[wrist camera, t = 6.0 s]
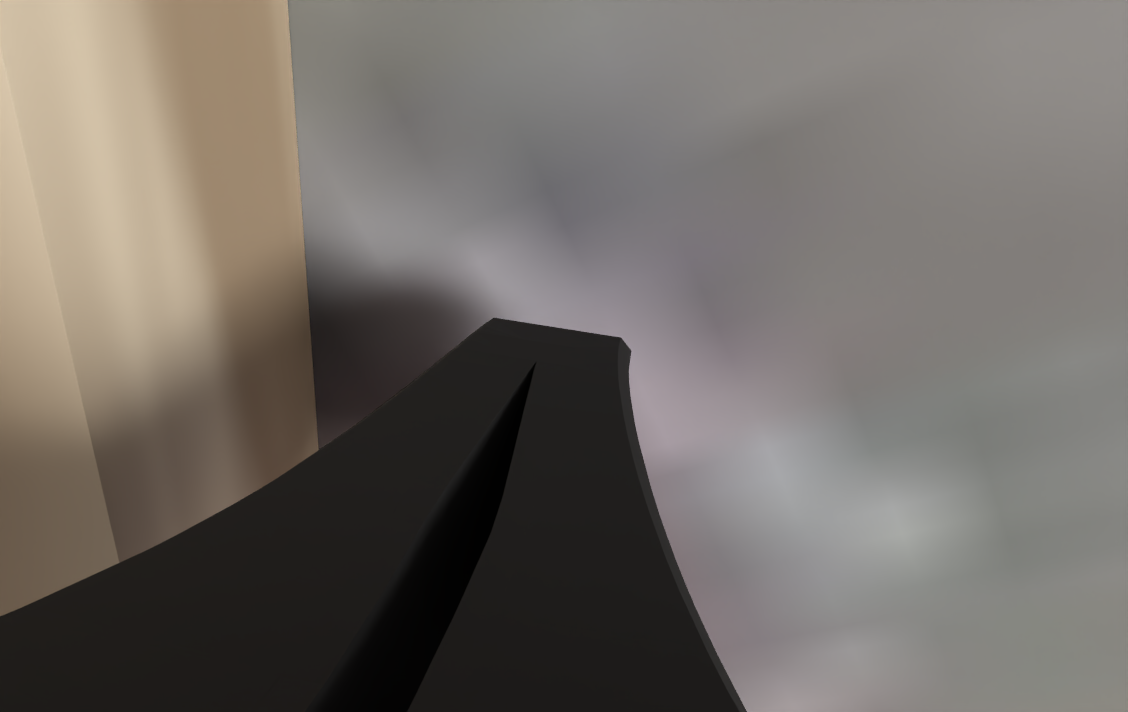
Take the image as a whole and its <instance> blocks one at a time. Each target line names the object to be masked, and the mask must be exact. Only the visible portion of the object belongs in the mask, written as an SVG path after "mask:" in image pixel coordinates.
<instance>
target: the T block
mask: <svg viewBox="0 0 1128 712" xmlns="http://www.w3.org/2000/svg"><path fill="white" fill-rule="evenodd" d="M318 450H319V447H318V433H317V418H316V404H315V390H314V375H313V361H312V346H311V332H310V318H309V303H308V289H307V275H306V260H305V246H304V231H303V217H302V203H301V188H300V174H299V160H298V145H297V131H296V116H295V102H294V88H293V73H292V59H291V44H290V30H289V16H288V1H287V0H0V616H2V615H5V614H7V613H9V612H12V611H14V610H17V609H19V608H21V607H24V606H26V605H28V604H30V603H33V602H35V601H37V600H39V599H41V598H43V597H46V596H48V595H50V594H52V593H54V592H57V591H59V590H61V589H63V588H65V587H67V586H70V585H72V584H74V583H76V582H78V581H81V580H83V579H85V578H87V577H89V576H91V575H94V574H96V573H98V572H100V571H102V570H105V569H107V568H109V567H111V566H113V565H115V564H118V563H120V562H122V561H124V560H126V559H129V558H131V557H133V556H135V555H137V554H139V553H142V552H144V551H146V550H148V549H150V548H152V547H154V546H156V545H158V544H160V543H162V542H164V541H166V540H168V539H170V538H172V537H174V536H176V535H177V534H179V533H181V532H183V531H185V530H187V529H189V528H190V527H192V526H194V525H196V524H198V523H200V522H201V521H203V520H205V519H207V518H209V517H211V516H213V515H214V514H216V513H218V512H220V511H222V510H224V509H225V508H227V507H229V506H231V505H233V504H234V503H236V502H238V501H240V500H241V499H243V498H245V497H246V496H248V495H250V494H252V493H253V492H255V491H257V490H258V489H260V488H262V487H263V486H265V485H267V484H268V483H270V482H272V481H273V480H275V479H276V478H278V477H279V476H281V475H282V474H284V473H285V472H287V471H288V470H290V469H291V468H293V467H294V466H296V465H297V464H299V463H300V462H302V461H303V460H305V459H306V458H308V457H309V456H311V455H312V454H314V453H315V452H317V451H318Z"/></svg>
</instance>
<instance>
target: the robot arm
mask: <svg viewBox="0 0 1128 712" xmlns="http://www.w3.org/2000/svg"><path fill="white" fill-rule="evenodd" d="M630 356H631V350H630V349H629V347H628V346H627V345H626V343H625V342H624V341H623V340H622V338H619V337H613V336H607V335H600V334H594V333H587V332H581V331H575V330H568V329H562V328H556V327H549V326H543V325H536V324H530V323H524V322H517V321H511V320H505V319H498V318H493V319H491V320H490V321H488V322H487V323H486V324H484V325H483V326H481V327H480V328H479V329H477V330H476V331H475V332H474V333H472V334H471V335H470V336H469V337H467V338H466V339H465V340H464V341H462V342H461V343H460V344H459V345H458V346H456V347H455V348H454V349H453V350H451V351H450V352H449V353H448V354H447V355H445V356H444V357H443V358H442V359H440V360H439V361H438V362H437V363H436V364H434V365H433V366H432V367H431V368H429V369H428V370H427V371H426V372H424V373H423V374H422V375H421V376H419V377H418V378H417V379H416V380H414V381H413V382H412V383H410V384H409V385H408V386H407V387H405V388H404V389H403V390H401V391H400V392H399V393H397V394H396V395H395V396H393V397H392V398H391V399H389V400H388V401H387V402H385V403H384V404H383V405H381V406H380V407H379V408H377V409H376V410H375V411H373V412H372V413H371V414H369V415H368V416H367V417H365V418H364V419H363V420H362V421H360V422H359V423H357V424H356V425H355V426H353V427H352V428H351V429H349V430H348V431H346V432H345V433H344V434H342V435H341V436H339V437H338V438H336V439H335V440H333V441H332V442H330V443H329V444H327V445H326V446H324V447H323V448H321V449H320V450H318V451H317V452H315V453H314V454H312V455H311V456H309V457H308V458H306V459H305V460H303V461H302V462H300V463H299V464H297V465H296V466H294V467H293V468H291V469H290V470H288V471H287V472H285V473H284V474H282V475H281V476H279V477H278V478H276V479H275V480H273V481H272V482H270V483H268V484H267V485H265V486H263V487H262V488H260V489H258V490H257V491H255V492H253V493H252V494H250V495H248V496H246V497H245V498H243V499H241V500H240V501H238V502H236V503H234V504H233V505H231V506H229V507H227V508H225V509H224V510H222V511H220V512H218V513H216V514H214V515H213V516H211V517H209V518H207V519H205V520H203V521H201V522H200V523H198V524H196V525H194V526H192V527H190V528H189V529H187V530H185V531H183V532H181V533H179V534H177V535H176V536H174V537H172V538H170V539H168V540H166V541H164V542H162V543H160V544H158V545H156V546H154V547H152V548H150V549H148V550H146V551H144V552H142V553H139V554H137V555H135V556H133V557H131V558H129V559H126V560H124V561H122V562H120V563H118V564H115V565H113V566H111V567H109V568H107V569H105V570H102V571H100V572H98V573H96V574H94V575H91V576H89V577H87V578H85V579H83V580H81V581H78V582H76V583H74V584H72V585H70V586H67V587H65V588H63V589H61V590H59V591H57V592H54V593H52V594H50V595H48V596H46V597H43V598H41V599H39V600H37V601H35V602H33V603H30V604H28V605H26V606H24V607H21V608H19V609H17V610H14V611H12V612H9V613H7V614H5V615H2V616H0V712H747V711H746V709H745V708H744V706H743V704H742V702H741V700H740V698H739V696H738V694H737V692H736V690H735V688H734V686H733V684H732V682H731V680H730V678H729V676H728V675H727V673H726V671H725V669H724V667H723V665H722V663H721V661H720V659H719V657H718V655H717V653H716V651H715V649H714V647H713V645H712V642H711V640H710V638H709V636H708V634H707V632H706V630H705V627H704V625H703V623H702V621H701V619H700V617H699V614H698V612H697V610H696V608H695V606H694V603H693V601H692V599H691V596H690V594H689V592H688V589H687V587H686V585H685V582H684V580H683V577H682V575H681V572H680V570H679V567H678V565H677V562H676V560H675V557H674V554H673V551H672V549H671V546H670V543H669V540H668V538H667V535H666V532H665V529H664V526H663V524H662V521H661V518H660V515H659V512H658V509H657V506H656V503H655V499H654V496H653V493H652V490H651V486H650V483H649V479H648V475H647V471H646V468H645V464H644V460H643V456H642V453H641V449H640V445H639V441H638V437H637V432H636V427H635V422H634V416H633V410H632V404H631V397H630V388H629V363H630Z"/></svg>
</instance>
